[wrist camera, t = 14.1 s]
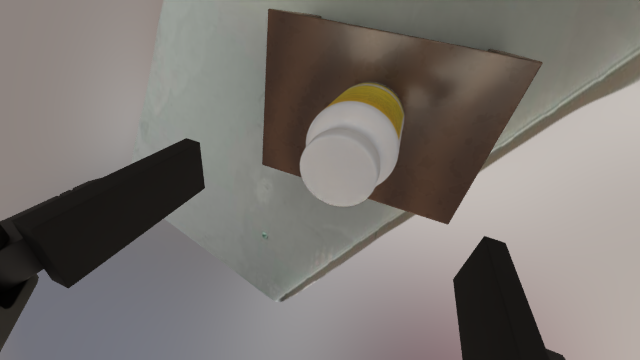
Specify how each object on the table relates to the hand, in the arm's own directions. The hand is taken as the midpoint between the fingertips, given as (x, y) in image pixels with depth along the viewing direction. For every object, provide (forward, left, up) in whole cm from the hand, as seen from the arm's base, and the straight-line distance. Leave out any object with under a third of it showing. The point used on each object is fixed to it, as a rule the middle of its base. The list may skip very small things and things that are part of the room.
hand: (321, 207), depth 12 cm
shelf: (0, +1, -25) cm, 25 cm away
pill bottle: (0, 0, -15) cm, 15 cm away
